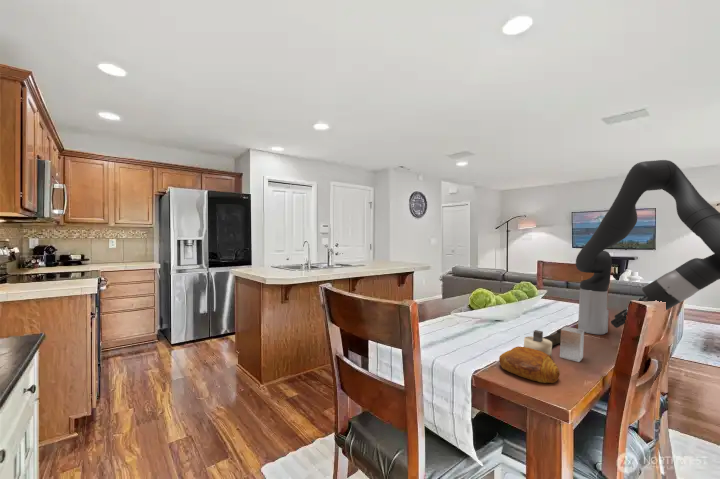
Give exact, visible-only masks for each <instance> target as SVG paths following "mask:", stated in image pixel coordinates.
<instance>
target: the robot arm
mask: <svg viewBox="0 0 720 479" xmlns="http://www.w3.org/2000/svg"><path fill="white" fill-rule="evenodd" d="M659 190H660V191H661V190H663V191H664V192H666V193H668V194H669V195H670V196H671V197H672V198H673V199H674V201H675V206H676V213H677V215H678V218H679V220H681V222H682V223H683V224H684V225H685V226H686V228H688V229H689V230H690V231H691V232H692V233H694V235H696V236H697V237H698V238H700V239H701V241H702V242H703V243H704V244H705V245H706V247H707V248H708V249H709V250H711V252H712V253H713V254H711V255H708V256H707V257H704V258H698V257H695V258H691V259H690V260H688V261H686V262H685V263H682V264H681V265H680V266H678V267H676V268H675V269H673V270H670V271H669V272H666V273H665V274H663V275H661V276H660V277H658V278H655V279H654V280H653V281H651V282H650V283H648V284H646V285H645V286H644V287H642V289H641V290H642V292H643V294H644V296H643V297H639V298H636V300H634V301H655V300H657V301H659V302H660V301H662V302H666V310H665V311H668V310H669V309H671V308H673V307H674V306H677V305H679V304H680V303H682V302H683V301H685V300H687V299H688V298H690V297H692V296H693V295H695V294H696V293H697V292H699V291H701V290H703V289H705V288H706V287H708V286H710V285H711V284H713V283H715V282H716V281H718V280H720V211H718V210H717V209H716V208H715V207H714V206H713V205H711V203H709V202H708V201H707V200H706V199H705V198H704V197H703V196H702V195H701V194H700V192H699V191H698V190H697V189H696V187H695V186H694V185H693V184H692V183H691V181H690V180H689V179H688V176H686V175H685V173H684V172H683V171H682V169H681V168H680V167H679V166H678V165H677V164H676V163H674V162H673V161H671V160H667V159H657V160H646V161H639V162H638V163H635V164H634V165H633V166H632V167H631V169H630V170H628V173H627V175H626V177H625V179H624V180H623V183H622V185H621V187H620V189H619V191H618V194H617V196H616V197H615V199H614V200H613V202H612V205H610V208H609V209H608V211H606V214H605V215H604V217H603V218H602V220H601V222H599V224H598V226H597V227H596V228H597V229H595V231H594V232H593V234H592V236H591V237H590V238H589V240H588V241H587V242H586V244H585V245H584V246H582V248H581V250H580V251H579V252H578V254H577V255H576V259H575V267H576V269H577V270H578V271H580V272H581V273H589V274H593V275H592V276H590V278H587V279H585V280H582V281H580V283H579V301H578V322H577V323H578V325H577V329H581V330H584V333H586V334H593V335H605V334H608V330H609V312H610V310H609V309H608V288H609V286H610V282H611V271H612V264H613V263H612V257H611V254H610V252H609V251H606V249H608V248H610V247H613V246H614V245H616V244H618V243H619V242H621V241H623V240H624V239H626V238H627V237H628V235H630V233H631V232H632V230H633V229H634V228H635V226H636V224H637V222H638V212H637V208H636V205H637V203H638V202H639V199H640V197H641V196H643V194H644V193H646V192H647V191H648V192H649V191H659ZM627 310H628V306H626V307H625V309H623V310H622V311H620V312H619V313H617V314H615V315H614V319H611V321H610V324H611V325H612V326H613V327H614V328H616V329H618V328H620V327H621V326H623V325H625V324H626V323H625V320H626V315H627Z"/></svg>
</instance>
